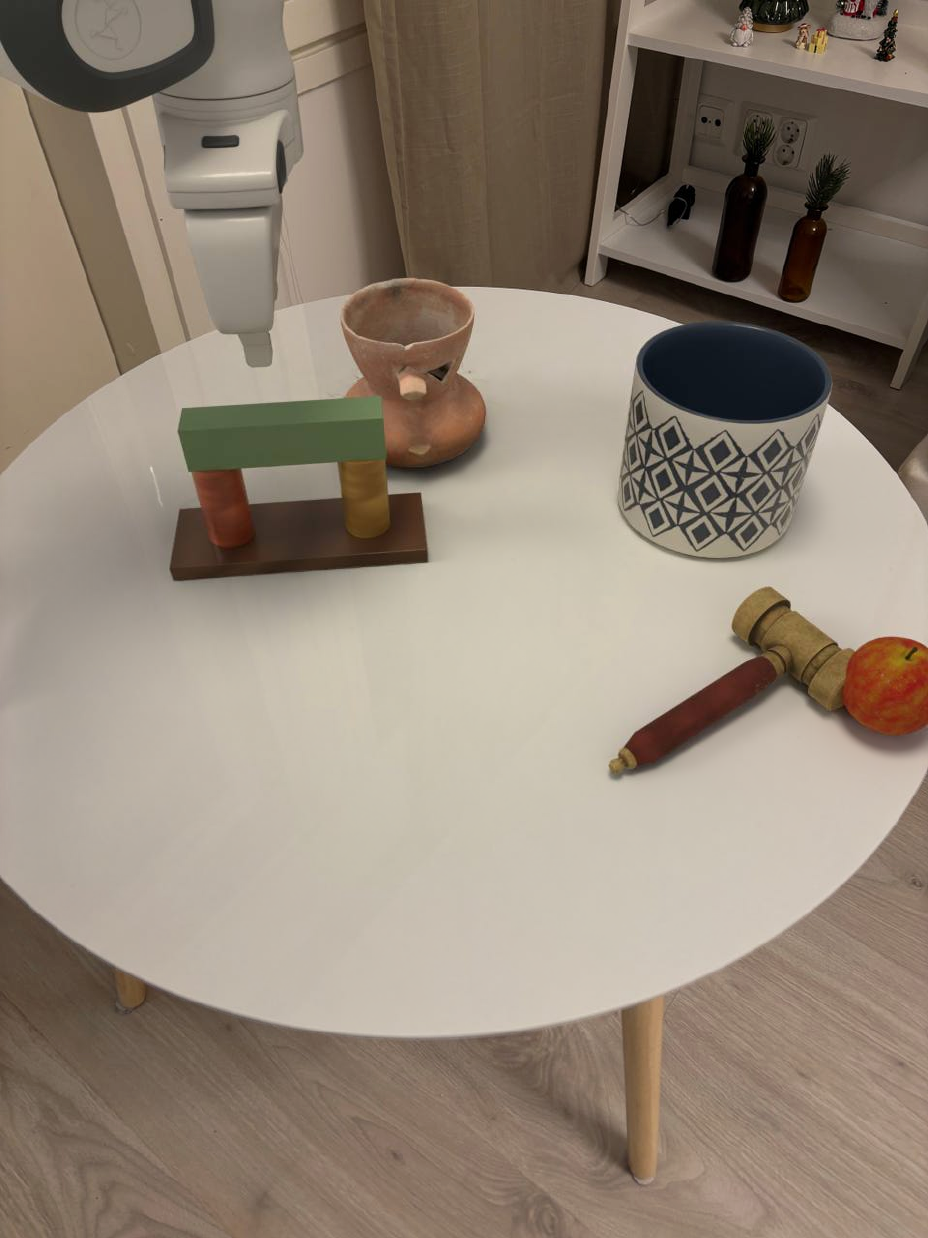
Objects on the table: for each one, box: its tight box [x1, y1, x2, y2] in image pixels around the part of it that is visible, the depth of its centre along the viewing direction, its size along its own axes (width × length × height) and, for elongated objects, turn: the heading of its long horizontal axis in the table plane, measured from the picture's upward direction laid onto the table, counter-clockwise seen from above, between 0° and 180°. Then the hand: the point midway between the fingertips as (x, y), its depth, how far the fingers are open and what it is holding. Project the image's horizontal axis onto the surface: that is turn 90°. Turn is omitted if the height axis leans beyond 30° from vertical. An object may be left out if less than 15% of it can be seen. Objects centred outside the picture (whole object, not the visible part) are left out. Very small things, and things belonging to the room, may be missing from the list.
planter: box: [617, 320, 833, 559], centre depth 82 cm, size 16×16×14 cm
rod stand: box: [169, 459, 429, 582], centre depth 81 cm, size 22×8×10 cm, turn 96°
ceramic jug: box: [339, 277, 487, 468], centre depth 90 cm, size 18×14×14 cm
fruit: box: [841, 636, 928, 736], centre depth 67 cm, size 7×7×8 cm
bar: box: [177, 396, 386, 473], centre depth 76 cm, size 16×3×4 cm, turn 96°
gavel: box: [608, 586, 856, 774], centre depth 69 cm, size 21×5×10 cm
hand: (263, 328), depth 69 cm, fingers open, 8 cm apart
